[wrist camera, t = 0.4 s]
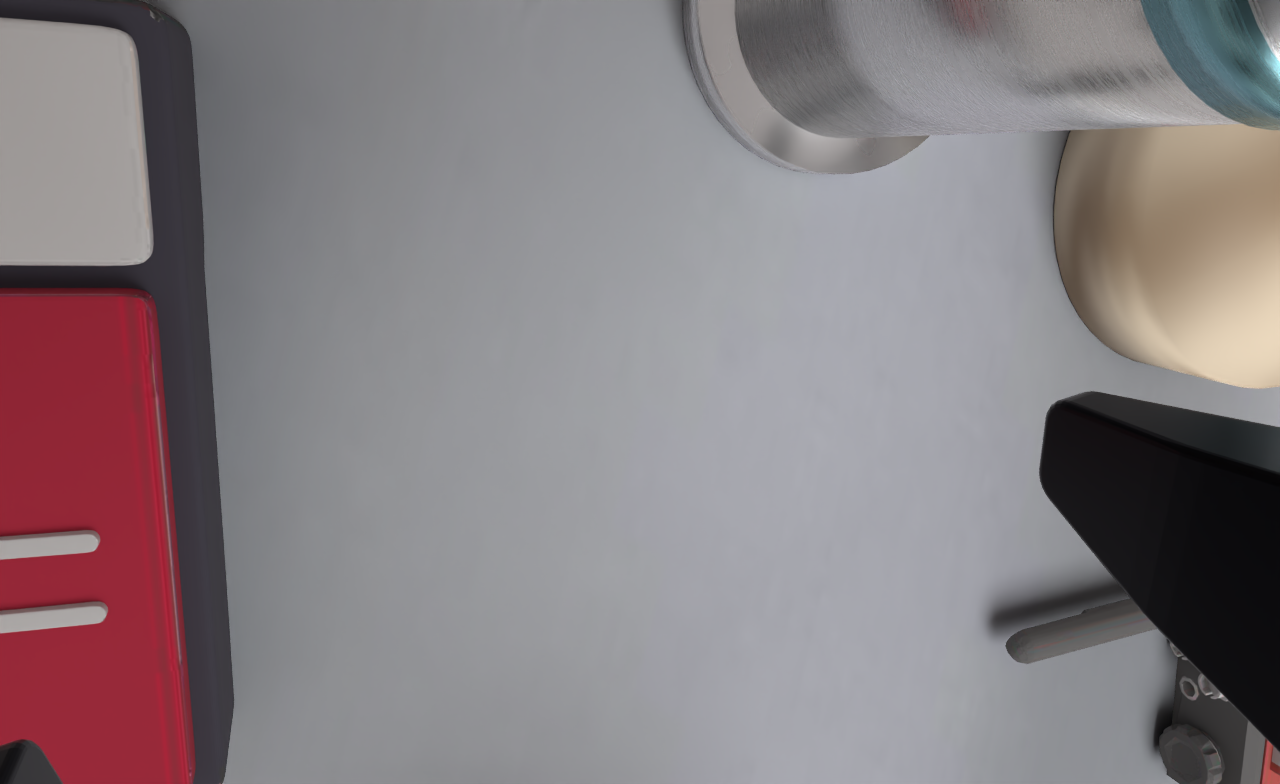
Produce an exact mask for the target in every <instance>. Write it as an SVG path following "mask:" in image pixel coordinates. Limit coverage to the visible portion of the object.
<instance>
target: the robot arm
mask: <svg viewBox="0 0 1280 784" xmlns="http://www.w3.org/2000/svg"><path fill="white" fill-rule="evenodd" d="M1039 476H1040V482H1041V485H1042V488H1043V490H1044V492H1045V493H1046V495H1047V497H1048V498H1049V499H1050V501H1051V502H1052V503H1053V504H1054V506H1055V507H1056V508H1057V509H1058V510H1059V512H1060V513H1061V514H1062V515H1063V517H1064V518H1065V519H1066V520H1067V521H1068V523H1069V524H1070V525H1071V526H1072V528H1073V529H1074V530H1075V531H1076V532H1077V534H1078V535H1079V536H1080V537H1081V539H1082V540H1083V541H1084V542H1085V543H1086V545H1087V546H1088V547H1089V548H1090V550H1091V551H1092V552H1093V553H1094V554H1095V556H1096V557H1097V558H1098V559H1099V561H1100V562H1101V563H1102V564H1103V566H1104V567H1105V568H1106V569H1107V570H1108V572H1109V573H1110V574H1111V575H1112V577H1113V578H1114V579H1115V580H1116V581H1117V583H1118V584H1119V585H1120V586H1121V588H1122V589H1123V590H1124V591H1125V592H1126V594H1127V595H1128V596H1129V597H1130V598H1131V600H1132V601H1133V602H1134V603H1135V604H1136V605H1137V607H1138V608H1139V609H1140V610H1141V611H1142V612H1143V614H1144V615H1145V616H1146V617H1147V618H1148V619H1149V620H1150V621H1151V622H1152V623H1153V624H1154V625H1155V626H1156V628H1157V629H1158V630H1159V631H1160V632H1161V633H1162V634H1163V635H1164V636H1165V637H1166V638H1167V639H1168V640H1169V641H1170V642H1171V643H1172V644H1173V645H1174V646H1175V647H1176V648H1177V649H1178V650H1179V651H1180V652H1181V653H1182V654H1183V655H1184V656H1185V657H1186V658H1187V659H1188V660H1189V661H1190V662H1191V663H1192V664H1193V665H1194V666H1195V667H1196V668H1197V669H1198V670H1199V671H1200V672H1201V673H1202V674H1203V675H1204V677H1205V678H1206V679H1207V680H1208V681H1209V682H1210V683H1211V684H1212V685H1213V686H1214V687H1215V688H1216V689H1217V690H1218V691H1219V692H1220V693H1221V694H1222V695H1223V696H1224V697H1225V698H1226V699H1227V700H1228V701H1229V702H1230V703H1231V704H1232V705H1233V706H1234V707H1235V708H1236V709H1237V710H1238V711H1239V712H1240V713H1241V714H1242V715H1243V716H1244V717H1245V718H1246V719H1247V720H1248V721H1249V722H1250V723H1251V724H1252V725H1253V726H1254V727H1255V728H1256V729H1257V730H1258V731H1259V732H1260V733H1261V734H1262V735H1263V736H1264V737H1265V738H1266V739H1267V740H1268V741H1269V742H1270V743H1271V744H1272V745H1273V746H1274V747H1275V749H1276V750H1277V751H1278V752H1279V753H1280V427H1275V426H1270V425H1265V424H1260V423H1255V422H1250V421H1245V420H1239V419H1234V418H1229V417H1224V416H1219V415H1214V414H1209V413H1204V412H1198V411H1193V410H1188V409H1183V408H1178V407H1173V406H1168V405H1162V404H1157V403H1152V402H1147V401H1142V400H1137V399H1132V398H1127V397H1121V396H1116V395H1111V394H1106V393H1101V392H1094V391H1091V392H1084V393H1080V394H1077V395H1074V396H1071V397H1068V398H1065V399H1062V400H1059V401H1057V402H1055V403H1054V404H1053V405H1051V407H1050V409H1049V410H1048V412H1047V415H1046V420H1045V428H1044V436H1043V444H1042V451H1041V459H1040V467H1039ZM0 784H63V782H62V781H61V779H60V777H59V776H58V774H57V773H56V771H55V770H54V768H53V766H52V765H51V763H50V762H49V760H48V758H47V757H46V755H45V754H44V752H43V751H42V749H41V748H40V747H39V746H38V745H37V744H36V743H34V742H33V741H31V740H25V739H20V740H16V741H13V742H10V743H6V744H3V745H0Z"/></svg>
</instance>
